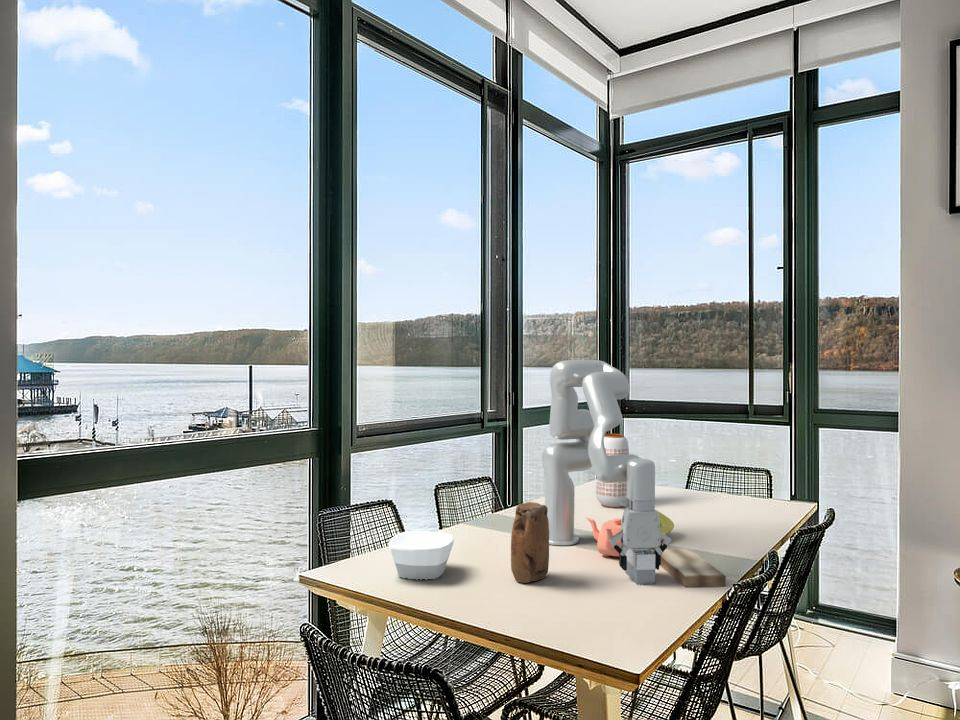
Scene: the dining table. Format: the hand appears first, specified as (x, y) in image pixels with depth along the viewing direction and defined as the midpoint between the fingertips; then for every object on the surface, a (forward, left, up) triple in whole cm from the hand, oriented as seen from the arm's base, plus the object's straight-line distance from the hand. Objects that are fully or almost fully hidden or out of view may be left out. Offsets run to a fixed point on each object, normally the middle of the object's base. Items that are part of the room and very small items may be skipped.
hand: (639, 568), depth 189 cm
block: (-30, +2, -3) cm, 30 cm away
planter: (+18, +86, -3) cm, 88 cm away
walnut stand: (+15, +4, -3) cm, 16 cm away
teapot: (-1, +22, -3) cm, 22 cm away
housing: (0, 0, -3) cm, 3 cm away
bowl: (-59, +9, -3) cm, 60 cm away
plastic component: (+16, +37, -3) cm, 41 cm away
